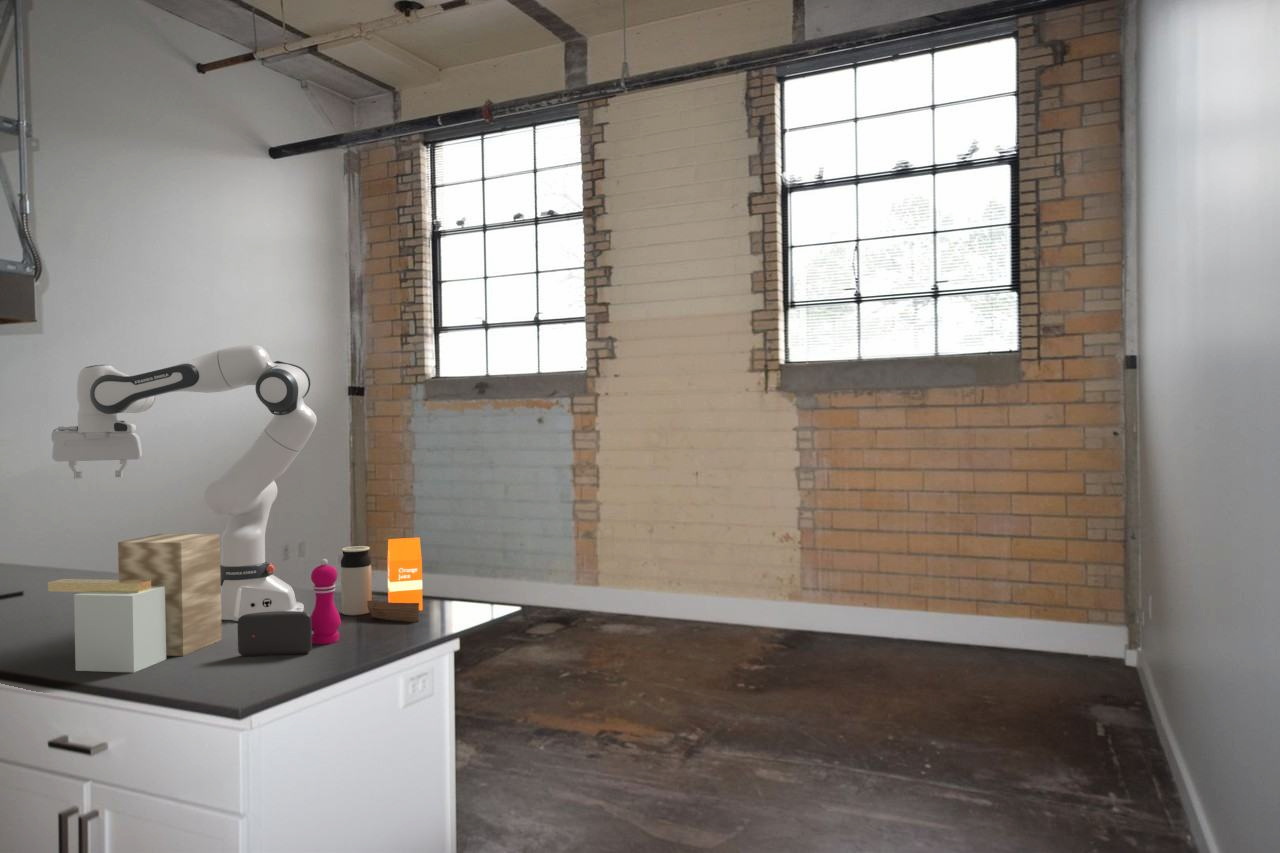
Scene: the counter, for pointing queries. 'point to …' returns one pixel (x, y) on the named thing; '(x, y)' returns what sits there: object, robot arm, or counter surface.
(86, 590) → the tan long flat block
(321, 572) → the pepper mill
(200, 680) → the counter surface
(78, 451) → the robot arm
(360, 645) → the counter surface
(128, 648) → the pale grey block
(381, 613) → the wood plank
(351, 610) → the travel mug
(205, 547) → the oak pedestal
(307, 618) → the red-dot charcoal block
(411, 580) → the orange juice
